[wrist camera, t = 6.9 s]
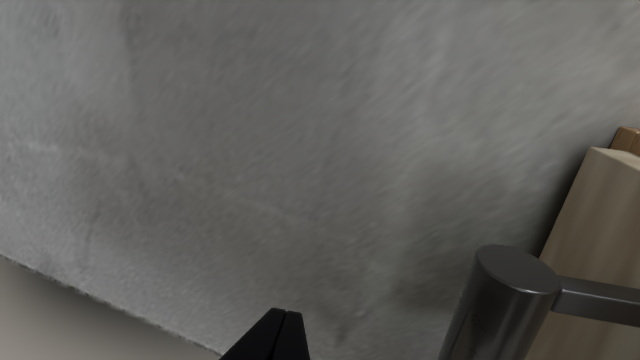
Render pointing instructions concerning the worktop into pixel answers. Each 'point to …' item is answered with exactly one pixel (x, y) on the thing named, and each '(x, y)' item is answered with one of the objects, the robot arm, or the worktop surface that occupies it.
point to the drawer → (562, 279)
